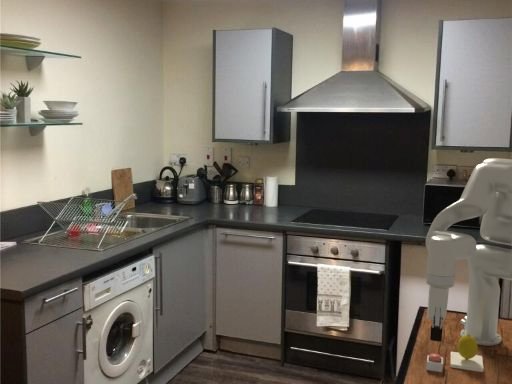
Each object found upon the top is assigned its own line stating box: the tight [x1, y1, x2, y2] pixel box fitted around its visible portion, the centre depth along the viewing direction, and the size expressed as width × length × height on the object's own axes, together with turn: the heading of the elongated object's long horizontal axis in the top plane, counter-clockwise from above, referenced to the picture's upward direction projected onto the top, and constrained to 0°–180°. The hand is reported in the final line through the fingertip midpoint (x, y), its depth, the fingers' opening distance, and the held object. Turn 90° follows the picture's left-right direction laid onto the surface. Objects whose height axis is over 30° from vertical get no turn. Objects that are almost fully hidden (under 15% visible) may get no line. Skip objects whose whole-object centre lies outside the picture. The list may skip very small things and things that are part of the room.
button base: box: [426, 354, 444, 373], centre depth 165 cm, size 4×4×3 cm
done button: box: [430, 353, 441, 363], centre depth 165 cm, size 3×3×2 cm
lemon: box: [457, 334, 479, 360], centre depth 168 cm, size 6×6×8 cm
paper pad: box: [450, 351, 484, 373], centre depth 168 cm, size 9×9×1 cm
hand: (435, 339), depth 163 cm, fingers closed
